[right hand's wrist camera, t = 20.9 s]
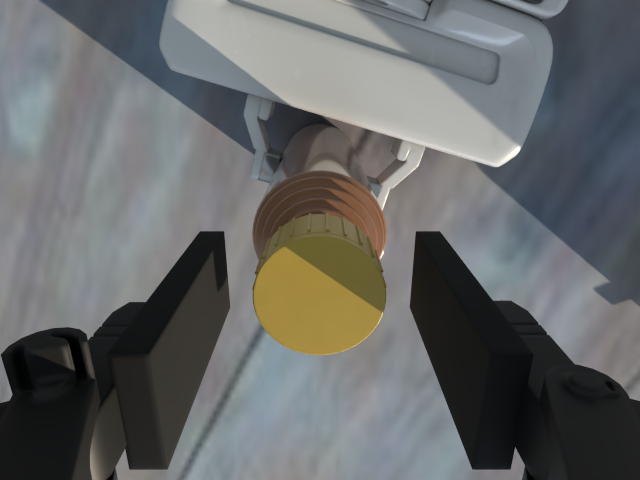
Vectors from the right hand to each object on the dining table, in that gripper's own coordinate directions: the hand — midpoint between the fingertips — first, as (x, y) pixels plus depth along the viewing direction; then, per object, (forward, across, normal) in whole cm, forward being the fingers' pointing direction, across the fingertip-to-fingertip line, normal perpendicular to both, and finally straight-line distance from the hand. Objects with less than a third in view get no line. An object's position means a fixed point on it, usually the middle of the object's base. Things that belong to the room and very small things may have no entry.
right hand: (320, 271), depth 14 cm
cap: (-2, 0, 0) cm, 2 cm away
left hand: (+13, 0, -1) cm, 13 cm away
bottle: (+20, 0, 0) cm, 20 cm away
